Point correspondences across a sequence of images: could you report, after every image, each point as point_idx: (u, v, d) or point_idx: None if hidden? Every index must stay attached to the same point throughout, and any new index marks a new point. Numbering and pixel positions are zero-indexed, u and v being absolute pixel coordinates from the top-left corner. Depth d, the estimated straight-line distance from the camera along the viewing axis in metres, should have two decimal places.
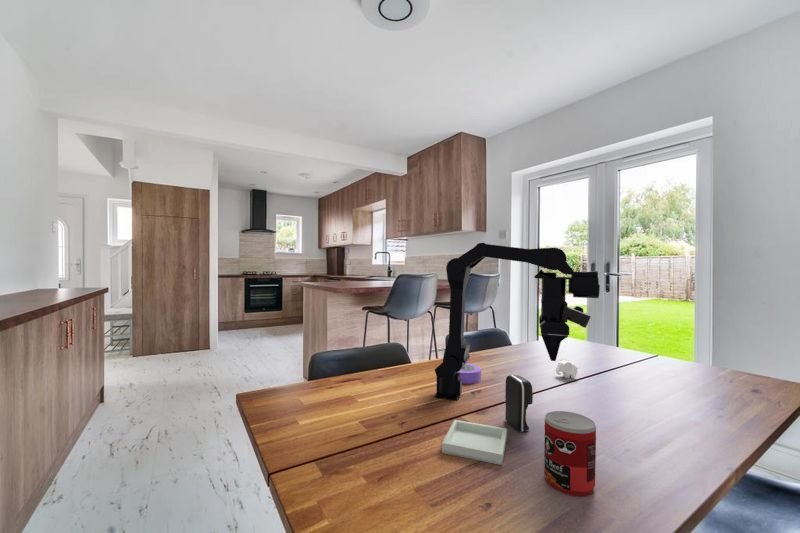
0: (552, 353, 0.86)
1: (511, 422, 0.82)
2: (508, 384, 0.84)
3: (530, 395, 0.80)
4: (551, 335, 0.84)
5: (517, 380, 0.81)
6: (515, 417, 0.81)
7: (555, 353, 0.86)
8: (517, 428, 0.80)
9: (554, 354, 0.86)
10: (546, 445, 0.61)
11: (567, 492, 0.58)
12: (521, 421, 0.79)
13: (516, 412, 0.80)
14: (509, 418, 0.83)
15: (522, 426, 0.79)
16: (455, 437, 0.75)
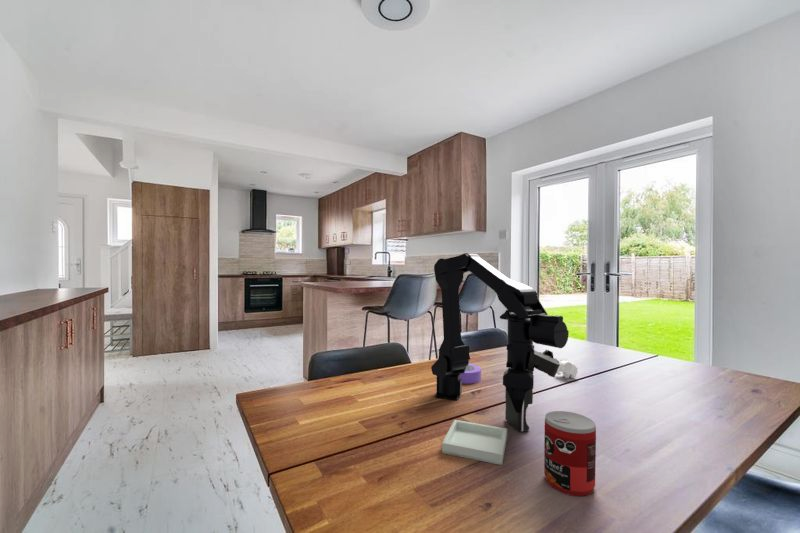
0: (517, 405, 0.79)
1: (511, 422, 0.82)
2: None
3: (530, 395, 0.80)
4: (514, 386, 0.76)
5: None
6: (515, 417, 0.81)
7: (520, 405, 0.78)
8: (517, 428, 0.80)
9: (519, 406, 0.78)
10: (546, 445, 0.61)
11: (567, 492, 0.58)
12: (521, 421, 0.79)
13: (516, 412, 0.80)
14: (509, 418, 0.83)
15: (522, 426, 0.79)
16: (455, 437, 0.75)
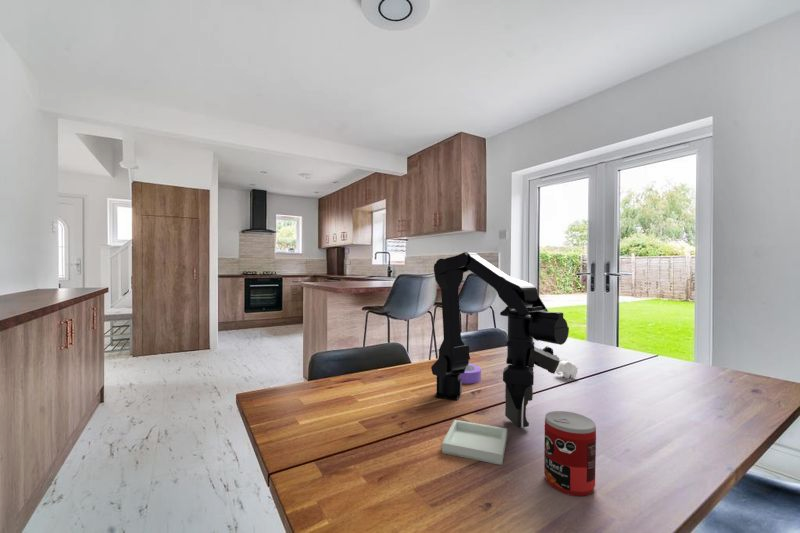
0: (517, 401, 0.79)
1: (511, 418, 0.82)
2: None
3: (530, 391, 0.80)
4: (514, 382, 0.76)
5: None
6: (515, 413, 0.81)
7: (520, 401, 0.78)
8: (517, 424, 0.80)
9: (519, 402, 0.78)
10: (546, 445, 0.61)
11: (567, 492, 0.58)
12: (521, 417, 0.79)
13: (516, 409, 0.80)
14: (509, 414, 0.83)
15: (522, 422, 0.80)
16: (455, 437, 0.75)
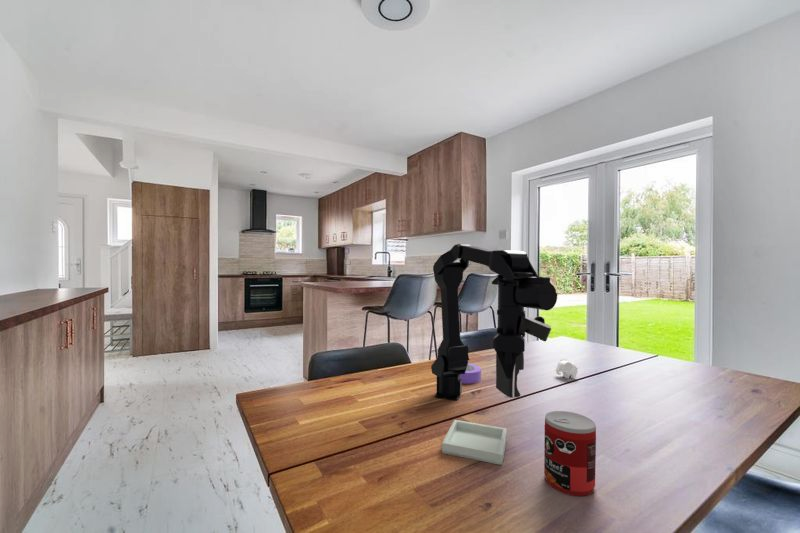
0: (508, 370, 0.76)
1: (502, 389, 0.80)
2: None
3: (521, 360, 0.77)
4: (505, 350, 0.74)
5: None
6: (506, 383, 0.78)
7: (511, 370, 0.76)
8: (508, 394, 0.77)
9: (510, 371, 0.76)
10: (546, 445, 0.61)
11: (567, 492, 0.58)
12: (512, 387, 0.77)
13: (507, 378, 0.78)
14: (500, 385, 0.81)
15: (513, 392, 0.77)
16: (455, 437, 0.75)
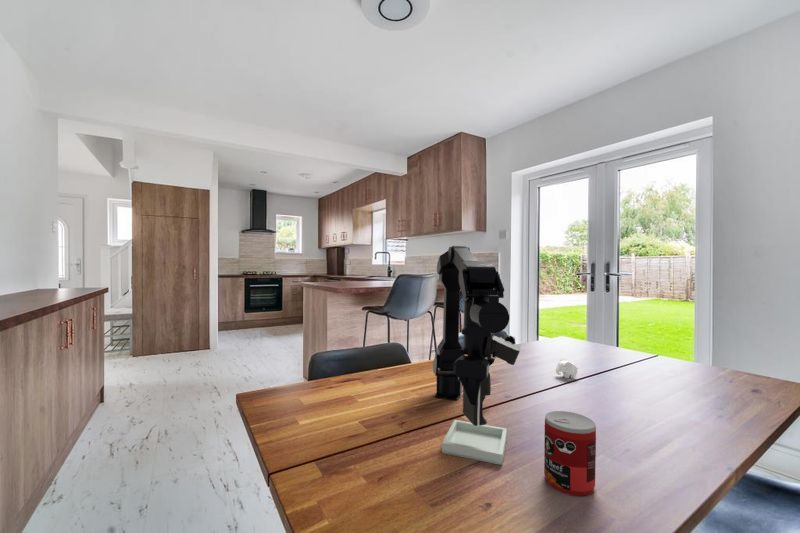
0: (472, 396, 0.70)
1: (468, 415, 0.73)
2: None
3: (487, 385, 0.71)
4: None
5: None
6: (471, 410, 0.72)
7: (475, 396, 0.69)
8: (473, 422, 0.71)
9: (474, 397, 0.69)
10: (546, 445, 0.61)
11: (567, 492, 0.58)
12: (477, 414, 0.70)
13: (472, 405, 0.71)
14: (466, 411, 0.74)
15: (478, 420, 0.70)
16: (455, 437, 0.75)
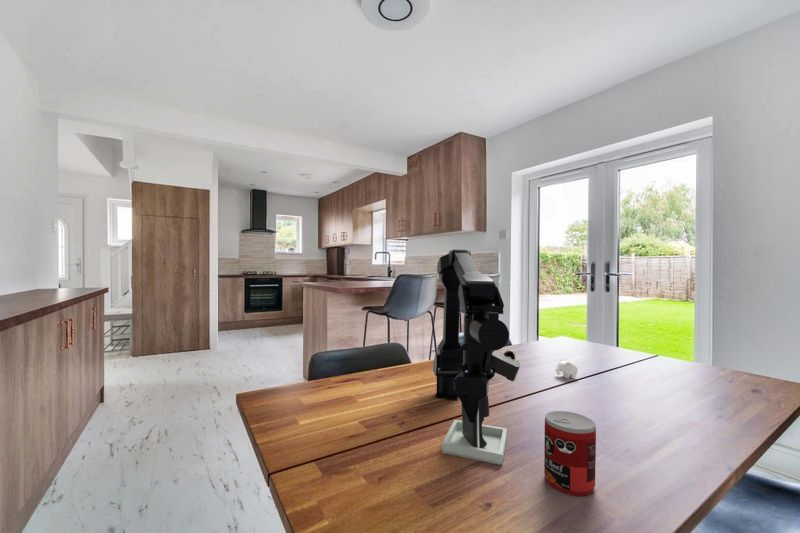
0: (471, 414, 0.69)
1: (467, 437, 0.73)
2: None
3: (486, 406, 0.71)
4: (466, 393, 0.66)
5: None
6: (471, 432, 0.72)
7: (474, 414, 0.68)
8: (473, 444, 0.71)
9: (473, 415, 0.68)
10: (546, 445, 0.61)
11: (567, 492, 0.58)
12: (477, 436, 0.70)
13: (471, 427, 0.71)
14: (465, 433, 0.74)
15: (478, 442, 0.70)
16: (455, 437, 0.75)
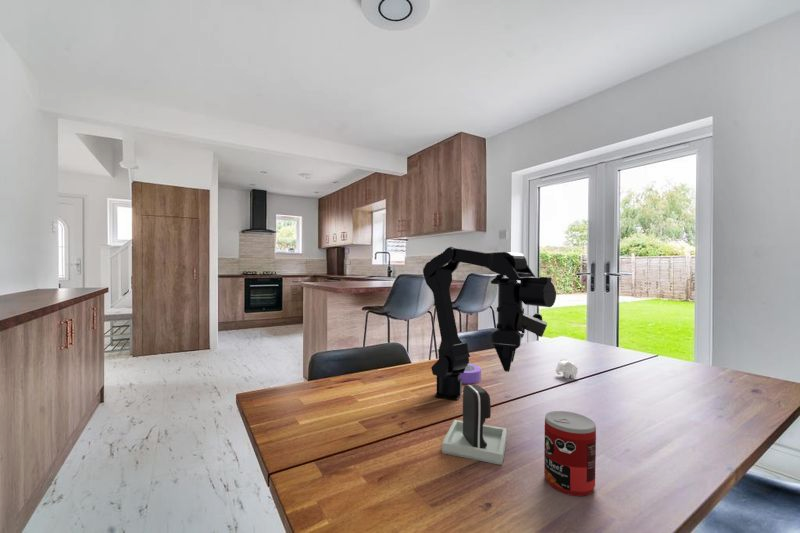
0: (506, 363, 0.82)
1: (468, 438, 0.73)
2: (465, 395, 0.75)
3: (487, 408, 0.71)
4: (502, 345, 0.80)
5: (474, 391, 0.72)
6: (471, 433, 0.71)
7: (508, 363, 0.82)
8: (473, 445, 0.71)
9: (507, 364, 0.82)
10: (546, 445, 0.61)
11: (567, 492, 0.58)
12: (477, 437, 0.70)
13: (472, 428, 0.71)
14: (466, 433, 0.74)
15: (479, 443, 0.70)
16: (455, 437, 0.75)
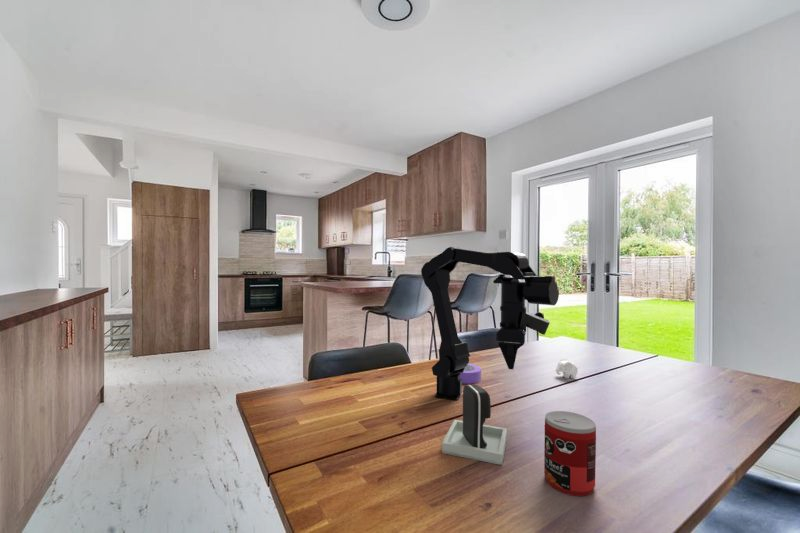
0: (510, 361, 0.83)
1: (468, 438, 0.73)
2: (465, 395, 0.75)
3: (487, 408, 0.71)
4: (507, 343, 0.81)
5: (473, 391, 0.72)
6: (471, 433, 0.71)
7: (512, 361, 0.83)
8: (473, 445, 0.71)
9: (511, 362, 0.83)
10: (546, 445, 0.61)
11: (567, 492, 0.58)
12: (477, 437, 0.70)
13: (472, 428, 0.71)
14: (466, 433, 0.74)
15: (479, 443, 0.70)
16: (455, 437, 0.75)
